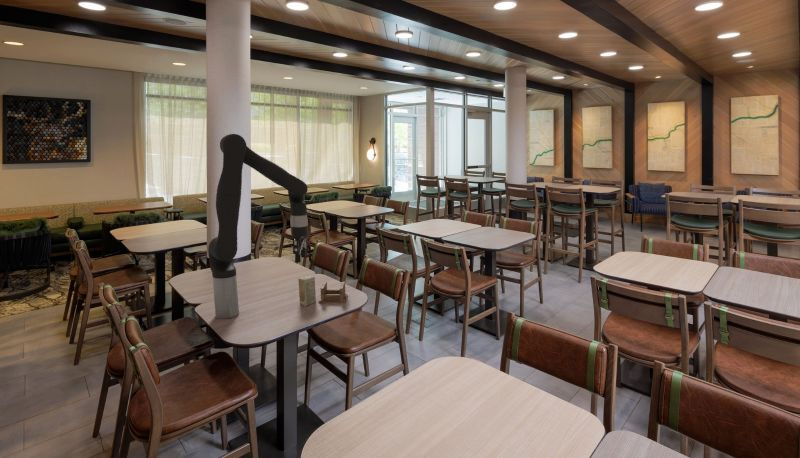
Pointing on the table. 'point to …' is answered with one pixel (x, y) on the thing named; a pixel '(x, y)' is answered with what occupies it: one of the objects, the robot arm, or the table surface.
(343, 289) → the stand
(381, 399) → the table surface
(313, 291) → the skincare box
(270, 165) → the robot arm
